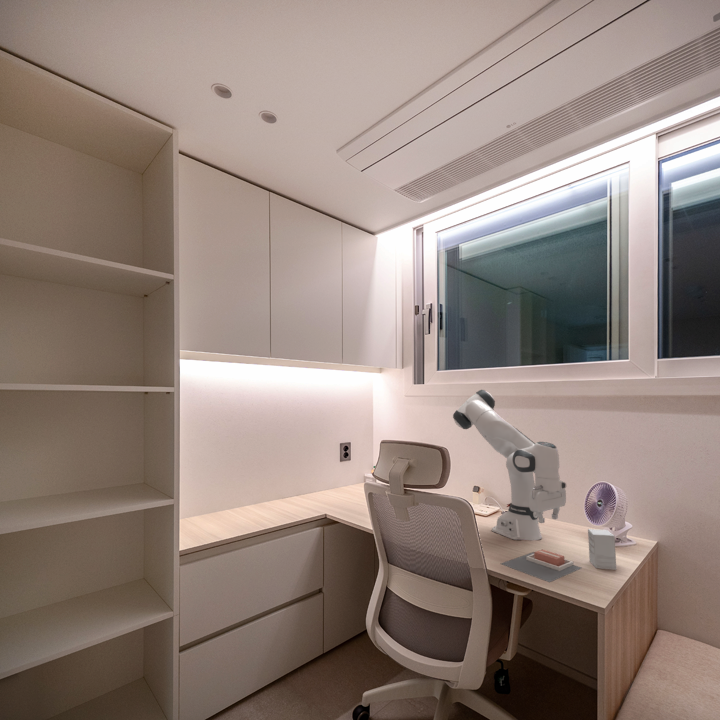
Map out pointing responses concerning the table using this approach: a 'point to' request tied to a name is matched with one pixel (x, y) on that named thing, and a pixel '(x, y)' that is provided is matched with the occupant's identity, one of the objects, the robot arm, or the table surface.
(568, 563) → the frame
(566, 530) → the table surface
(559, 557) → the card deck
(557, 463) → the robot arm
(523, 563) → the desk mat
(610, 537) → the supplement box
